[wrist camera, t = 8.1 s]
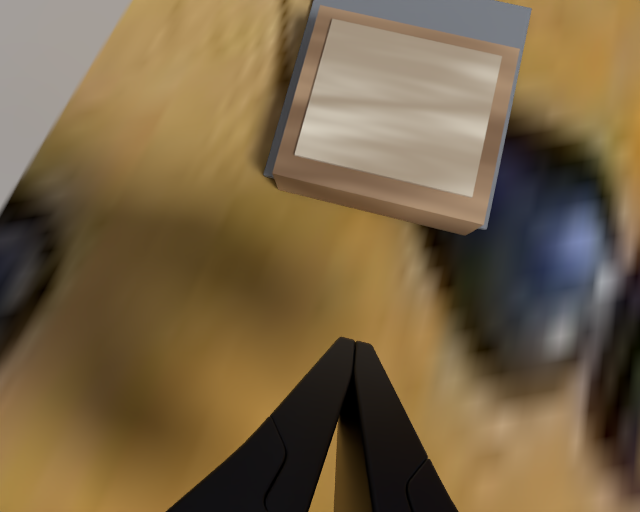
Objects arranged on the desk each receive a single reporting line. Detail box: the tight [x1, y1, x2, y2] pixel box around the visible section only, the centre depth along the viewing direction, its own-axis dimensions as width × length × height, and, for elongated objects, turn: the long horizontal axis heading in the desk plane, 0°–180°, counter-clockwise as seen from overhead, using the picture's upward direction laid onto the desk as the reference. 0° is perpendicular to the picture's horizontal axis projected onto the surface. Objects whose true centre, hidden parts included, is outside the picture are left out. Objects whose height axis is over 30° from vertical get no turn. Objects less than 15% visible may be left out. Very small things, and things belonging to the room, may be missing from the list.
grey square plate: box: [263, 0, 532, 230], centre depth 22 cm, size 13×12×1 cm
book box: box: [272, 5, 520, 235], centre depth 20 cm, size 3×10×9 cm
